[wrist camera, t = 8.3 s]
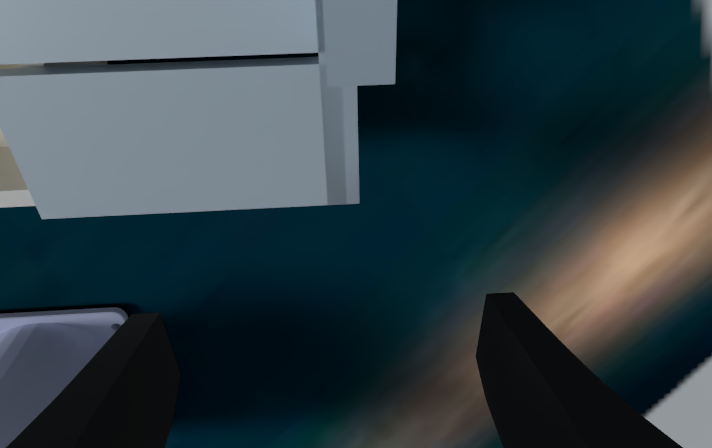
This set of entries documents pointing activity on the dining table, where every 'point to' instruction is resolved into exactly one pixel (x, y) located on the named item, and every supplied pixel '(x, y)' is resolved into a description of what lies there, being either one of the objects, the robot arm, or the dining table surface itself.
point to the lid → (189, 102)
